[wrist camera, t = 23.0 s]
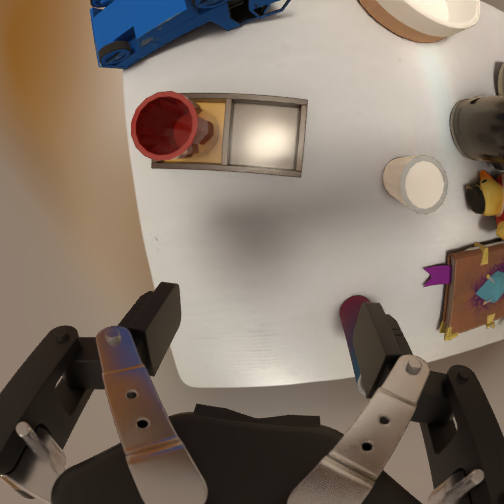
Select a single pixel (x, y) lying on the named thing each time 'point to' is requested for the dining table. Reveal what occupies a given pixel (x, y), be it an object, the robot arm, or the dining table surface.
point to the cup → (349, 319)
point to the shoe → (501, 80)
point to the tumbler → (173, 127)
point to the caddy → (250, 135)
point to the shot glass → (416, 182)
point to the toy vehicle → (161, 24)
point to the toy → (488, 198)
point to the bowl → (424, 17)
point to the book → (471, 288)
